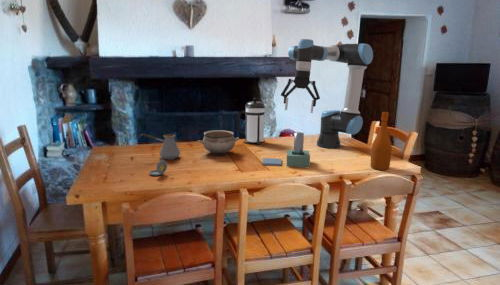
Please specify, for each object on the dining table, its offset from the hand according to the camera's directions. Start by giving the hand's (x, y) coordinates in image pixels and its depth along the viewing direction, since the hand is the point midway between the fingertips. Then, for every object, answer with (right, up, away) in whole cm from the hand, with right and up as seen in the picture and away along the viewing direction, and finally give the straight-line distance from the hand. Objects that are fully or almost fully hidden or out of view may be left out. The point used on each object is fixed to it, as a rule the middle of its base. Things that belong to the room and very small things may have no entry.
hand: (298, 111), depth 191 cm
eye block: (0, -28, +6) cm, 29 cm away
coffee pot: (-75, -25, +13) cm, 81 cm away
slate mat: (-14, -27, +8) cm, 31 cm away
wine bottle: (+43, -30, +1) cm, 52 cm away
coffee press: (-24, -17, +52) cm, 59 cm away
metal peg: (0, -28, +6) cm, 29 cm away
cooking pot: (-44, -23, +24) cm, 55 cm away
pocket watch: (-70, -32, -14) cm, 79 cm away
